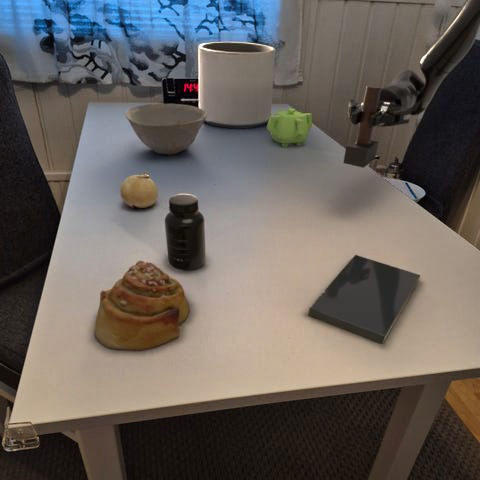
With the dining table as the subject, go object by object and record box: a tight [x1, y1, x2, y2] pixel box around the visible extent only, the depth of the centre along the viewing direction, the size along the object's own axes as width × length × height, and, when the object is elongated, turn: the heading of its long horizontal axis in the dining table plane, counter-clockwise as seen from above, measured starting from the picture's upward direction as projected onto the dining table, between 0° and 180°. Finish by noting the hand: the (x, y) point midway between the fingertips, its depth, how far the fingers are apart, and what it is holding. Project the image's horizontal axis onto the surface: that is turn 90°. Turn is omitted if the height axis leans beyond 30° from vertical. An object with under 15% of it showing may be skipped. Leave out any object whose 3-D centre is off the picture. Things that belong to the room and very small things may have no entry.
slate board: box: [307, 254, 421, 345], centre depth 74 cm, size 20×12×2 cm, turn 148°
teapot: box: [266, 108, 313, 148], centre depth 136 cm, size 12×12×10 cm
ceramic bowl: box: [124, 103, 207, 156], centre depth 126 cm, size 22×23×10 cm
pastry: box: [94, 260, 191, 351], centre depth 65 cm, size 13×15×8 cm
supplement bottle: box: [164, 193, 207, 271], centre depth 77 cm, size 7×7×12 cm
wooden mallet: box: [342, 84, 383, 168], centre depth 88 cm, size 7×4×14 cm, turn 148°
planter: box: [197, 41, 276, 129], centre depth 150 cm, size 25×25×22 cm
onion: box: [119, 170, 159, 209], centre depth 97 cm, size 8×8×7 cm
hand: (363, 120), depth 85 cm, fingers closed on wooden mallet, 3 cm apart
